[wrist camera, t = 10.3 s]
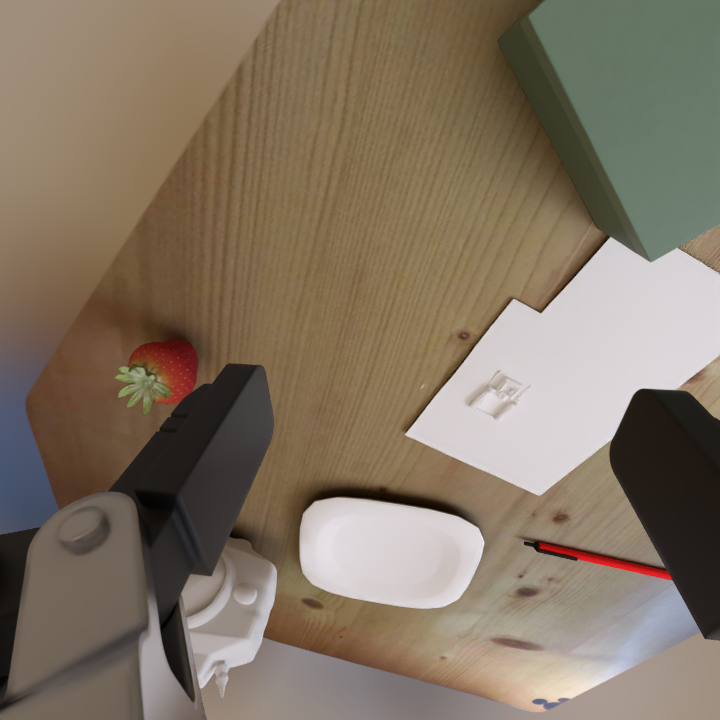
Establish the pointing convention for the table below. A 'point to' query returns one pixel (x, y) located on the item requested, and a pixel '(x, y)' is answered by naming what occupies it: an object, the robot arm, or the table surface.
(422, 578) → the plate
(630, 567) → the pen
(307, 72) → the table surface
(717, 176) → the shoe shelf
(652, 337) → the paper
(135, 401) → the fruit
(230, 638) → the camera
